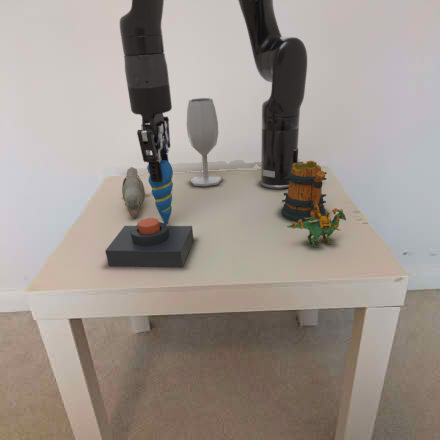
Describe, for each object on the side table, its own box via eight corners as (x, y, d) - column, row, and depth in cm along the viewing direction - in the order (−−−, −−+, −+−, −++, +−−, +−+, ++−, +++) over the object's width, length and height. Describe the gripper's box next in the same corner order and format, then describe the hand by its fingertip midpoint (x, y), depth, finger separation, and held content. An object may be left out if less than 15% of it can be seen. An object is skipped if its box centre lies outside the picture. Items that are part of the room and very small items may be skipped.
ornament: (152, 222, 88) (141, 152, 80) (174, 217, 90) (165, 148, 81) (159, 230, 84) (148, 158, 76) (182, 225, 86) (174, 154, 77)
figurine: (347, 243, 76) (352, 202, 72) (288, 253, 74) (290, 212, 69) (339, 236, 79) (344, 196, 74) (282, 246, 76) (284, 205, 72)
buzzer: (193, 240, 81) (191, 217, 78) (182, 267, 72) (179, 242, 69) (127, 239, 83) (122, 217, 80) (108, 266, 73) (102, 241, 71)
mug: (274, 208, 93) (275, 157, 86) (315, 203, 94) (319, 152, 88) (294, 230, 82) (297, 175, 75) (340, 224, 83) (347, 169, 77)
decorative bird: (123, 220, 91) (116, 188, 87) (126, 196, 105) (120, 167, 101) (146, 217, 92) (141, 185, 88) (146, 194, 105) (142, 165, 101)
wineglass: (221, 186, 107) (217, 101, 96) (189, 188, 108) (181, 103, 96) (222, 176, 115) (218, 96, 103) (191, 178, 115) (184, 98, 103)
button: (162, 226, 76) (161, 217, 75) (157, 235, 73) (155, 226, 72) (142, 226, 76) (140, 217, 75) (136, 235, 73) (134, 226, 72)
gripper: (158, 87, 65) (170, 188, 75) (177, 78, 77) (185, 166, 86) (114, 89, 66) (132, 188, 76) (139, 79, 78) (152, 166, 87)
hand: (160, 176), depth 81 cm, fingers closed on ornament, 5 cm apart
